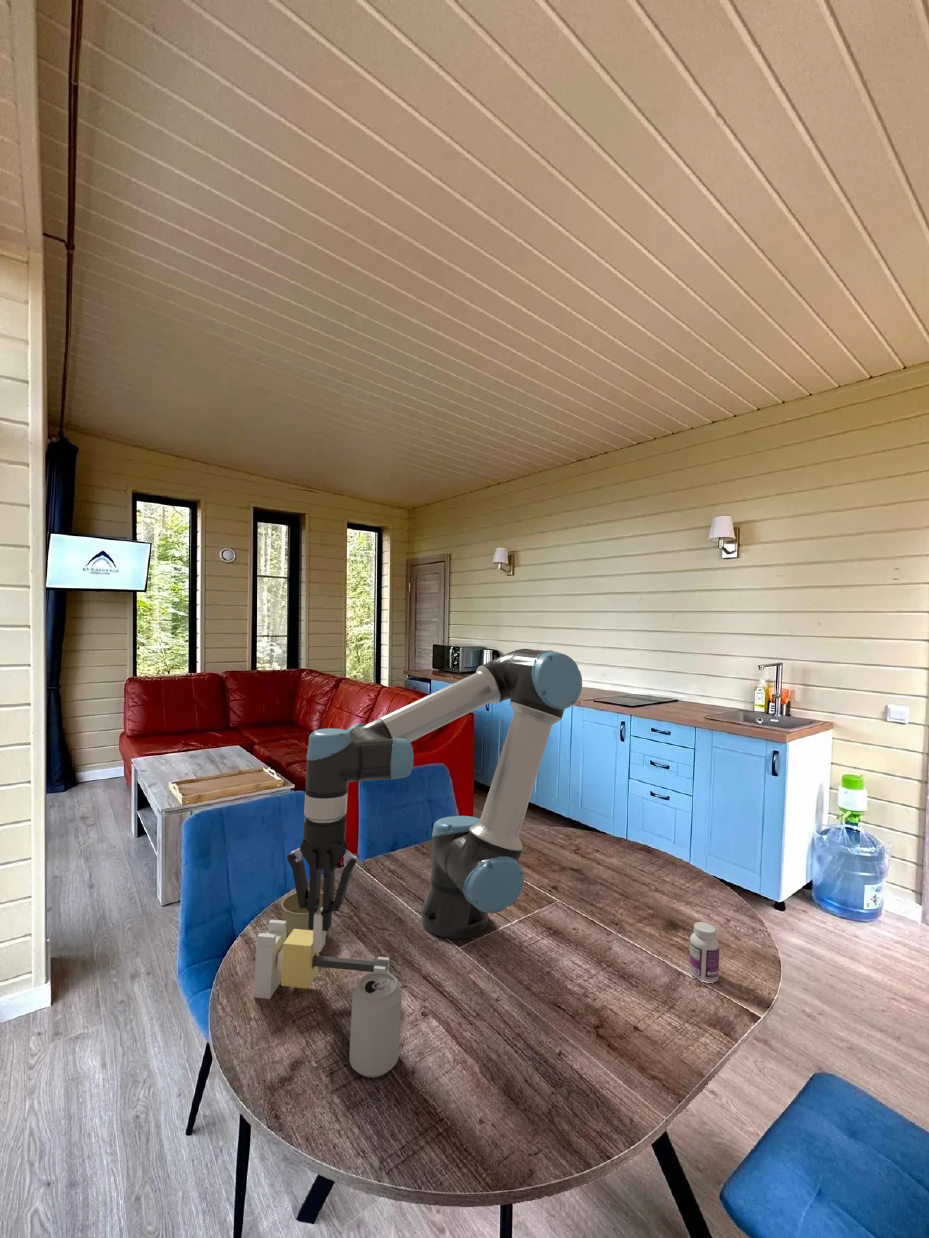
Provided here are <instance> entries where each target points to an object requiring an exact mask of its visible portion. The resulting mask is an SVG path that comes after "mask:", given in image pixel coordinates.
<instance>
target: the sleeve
mask: <svg viewBox="0 0 929 1238" xmlns="http://www.w3.org/2000/svg"><path fill="white" fill-rule="evenodd" d="M312 945H313V931H312V930H302V929H293V931H292V932H291V934H289V935H288V936H287V937H286V940H285V942H284V943H283V959H282V979H281V983H280V986H281V987H292V988H301V989H310V987H311V985H312V983H313V981H314V979H315V978H316V976H317V974H318V973H319V967H316V966H312V961H313V957H314V955H316V956H320V952H316V951H312Z"/></svg>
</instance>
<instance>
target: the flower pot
mask: <svg viewBox="0 0 929 1238" xmlns="http://www.w3.org/2000/svg"><path fill="white" fill-rule="evenodd" d="M320 901H321V903H320V904H319V906H318V908H319V907H323V891H322V892H321V891H320ZM281 914H282V917H283V918H282V919H283V921H287V922H286V929H287V930H286V931H287V932H288V933H289V935H290V934H291V932H292V931H293V929H302V930H309V927H308V924H309V911H308V910H307V909H305V908H303V909H301V908H300V907H299V904H298V899H297V893H296V892H295V893H292V894H289V895H288V896H285V898H283V900H282V902H281ZM312 931H313V930H312Z"/></svg>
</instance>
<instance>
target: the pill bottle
mask: <svg viewBox="0 0 929 1238" xmlns="http://www.w3.org/2000/svg"><path fill="white" fill-rule="evenodd" d="M716 936H717V929H716V928H715V926H713V925H712V924H710V923H707V922H704V921H698V922H695V923H694V925H693V932H692V934H691V935H690V937H689V965H688V966H689V967H688V971H689V973H690V972H691V974H692V975H694V976H695V977H696V978H698V979H700V980H704V981H707V982H714V981H716V980H717V979H718V980H719V978H720V977H719V975H720V974H719V973H720V943H719V941H718V939H717V937H716ZM691 974H690V975H691ZM692 975H691V976H692Z"/></svg>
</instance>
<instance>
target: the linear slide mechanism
mask: <svg viewBox="0 0 929 1238" xmlns="http://www.w3.org/2000/svg"><path fill="white" fill-rule="evenodd" d="M286 922H287V921H284V920H281V919H280V920H279V919H270V920H269V922H268V928H267V929H268V931H267V932H266V933H263V932H259V934H258V935H257V936H256V947H255V961H254V962H255V963H254V964H255V965H254V986H253V998H258V999H259V998H260V999H267V1000H271V998H272V996H273V995H274V993H275V992H276V990H278V988H279V986H281V979H282V959H283V943H284V942H285V940H286V939H287V931H288V930H287V928H286ZM312 966H316V967H318V968H319V967H320V968H328V969H339V970H348V971H357V972H358V971H359V972H368V973H371V972H377V971H382V972H387V973H390V957H385V956H378V957H377V960H375V961H374V960H364V959H356V958H347V957H345V958H344V957H335V956H325V955H319V956H316V955H314V957H313V961H312Z"/></svg>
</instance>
